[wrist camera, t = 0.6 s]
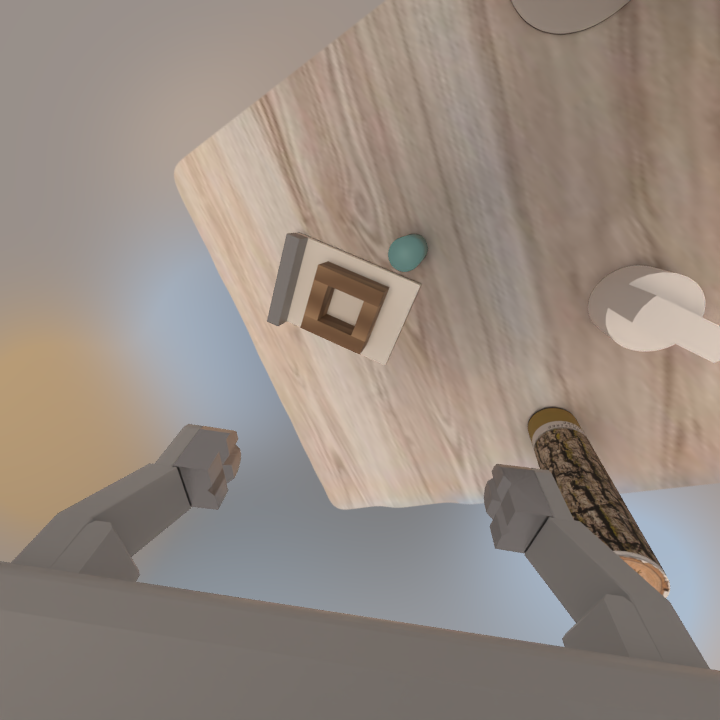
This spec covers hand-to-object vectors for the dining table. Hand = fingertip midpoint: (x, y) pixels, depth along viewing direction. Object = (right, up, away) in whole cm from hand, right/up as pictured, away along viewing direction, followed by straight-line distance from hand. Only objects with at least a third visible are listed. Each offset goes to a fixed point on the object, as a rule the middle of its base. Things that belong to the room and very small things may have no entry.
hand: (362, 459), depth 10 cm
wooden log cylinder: (+29, -7, +40) cm, 51 cm away
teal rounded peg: (+7, +19, +36) cm, 41 cm away
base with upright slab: (+34, +11, +32) cm, 48 cm away
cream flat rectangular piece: (-2, +13, +42) cm, 44 cm away
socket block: (-2, +12, +41) cm, 42 cm away
